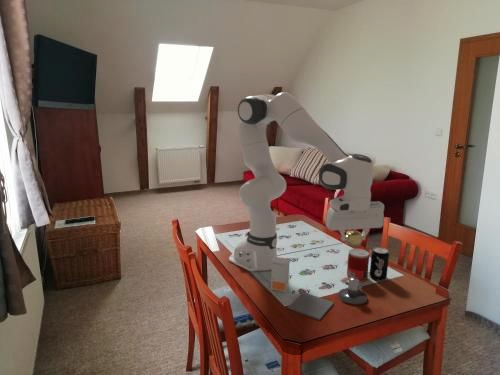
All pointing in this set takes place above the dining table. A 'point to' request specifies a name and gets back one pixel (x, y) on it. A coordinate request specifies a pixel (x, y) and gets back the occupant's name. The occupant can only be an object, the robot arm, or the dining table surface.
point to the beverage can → (379, 263)
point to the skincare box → (280, 274)
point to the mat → (311, 305)
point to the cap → (353, 238)
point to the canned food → (358, 264)
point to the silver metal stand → (353, 293)
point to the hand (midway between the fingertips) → (353, 240)
